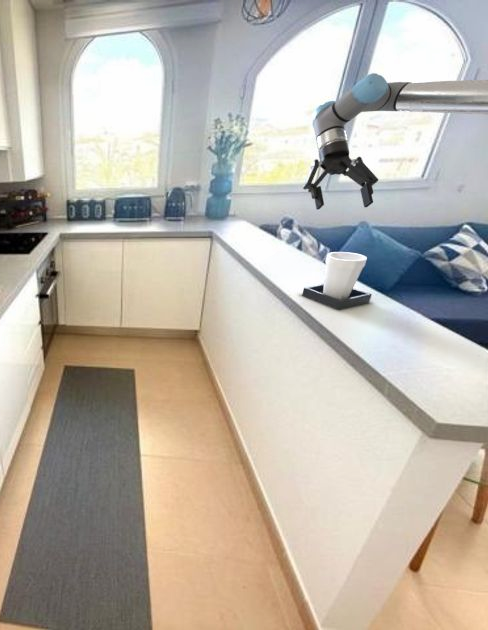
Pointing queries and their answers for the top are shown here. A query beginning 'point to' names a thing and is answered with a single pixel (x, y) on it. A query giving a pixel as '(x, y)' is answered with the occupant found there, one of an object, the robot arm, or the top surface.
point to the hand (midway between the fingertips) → (344, 206)
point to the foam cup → (342, 273)
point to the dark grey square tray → (353, 300)
